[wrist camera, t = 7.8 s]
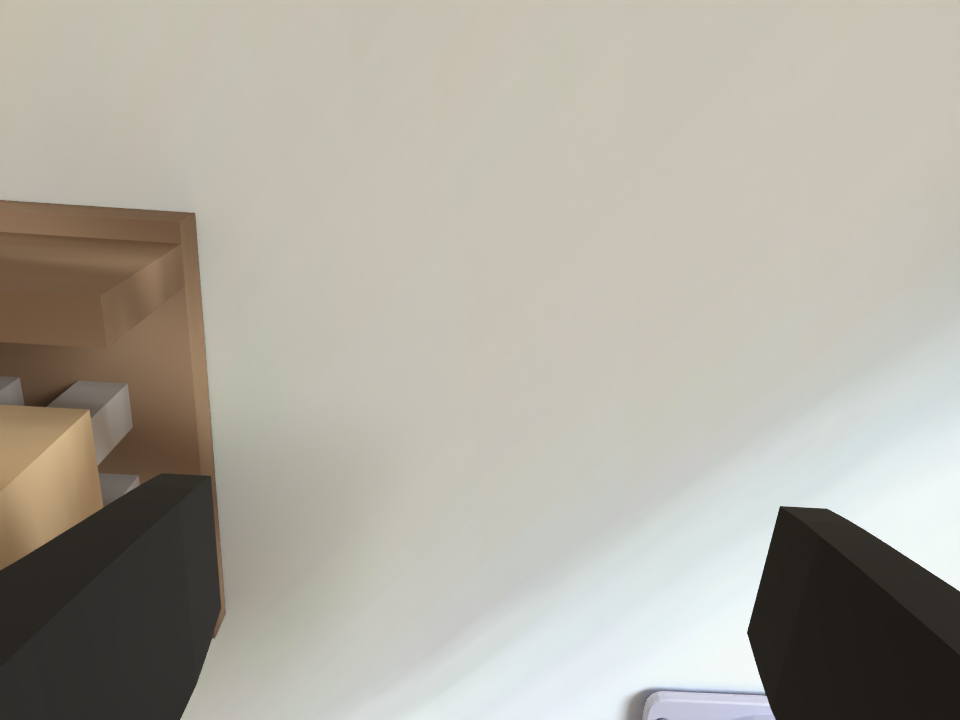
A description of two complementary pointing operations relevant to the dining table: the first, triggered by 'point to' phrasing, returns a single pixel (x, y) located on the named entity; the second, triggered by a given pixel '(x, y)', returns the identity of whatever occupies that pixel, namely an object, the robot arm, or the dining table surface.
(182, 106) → the dining table surface
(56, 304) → the stand
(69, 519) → the light wooden block
